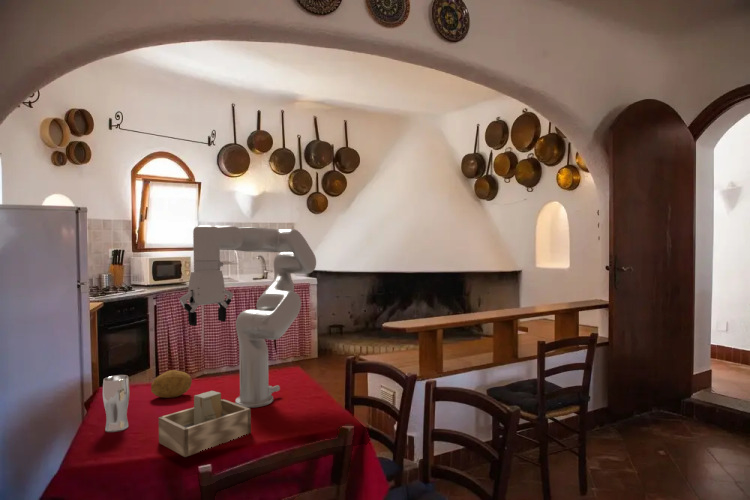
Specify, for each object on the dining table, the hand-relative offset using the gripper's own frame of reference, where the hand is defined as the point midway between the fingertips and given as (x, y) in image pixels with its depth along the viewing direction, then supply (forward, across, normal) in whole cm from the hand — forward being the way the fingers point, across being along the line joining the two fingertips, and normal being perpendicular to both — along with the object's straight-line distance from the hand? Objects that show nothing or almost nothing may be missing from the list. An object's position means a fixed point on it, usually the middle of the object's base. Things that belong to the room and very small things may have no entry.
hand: (207, 323), depth 148 cm
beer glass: (+31, +20, -17) cm, 40 cm away
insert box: (+30, +7, +10) cm, 33 cm away
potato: (+31, -5, -33) cm, 45 cm away
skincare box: (+31, +6, +10) cm, 33 cm away
